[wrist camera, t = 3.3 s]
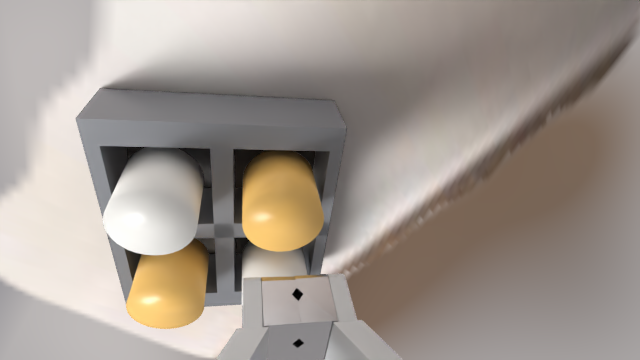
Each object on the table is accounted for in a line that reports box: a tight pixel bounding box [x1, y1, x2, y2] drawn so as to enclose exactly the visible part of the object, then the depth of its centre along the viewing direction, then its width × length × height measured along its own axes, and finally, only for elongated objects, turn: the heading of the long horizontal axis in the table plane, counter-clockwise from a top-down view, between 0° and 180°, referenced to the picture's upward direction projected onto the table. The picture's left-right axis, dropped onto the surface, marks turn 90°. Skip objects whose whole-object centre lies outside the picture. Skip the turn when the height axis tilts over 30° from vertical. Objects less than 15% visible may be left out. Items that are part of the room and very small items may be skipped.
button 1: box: [126, 238, 209, 329], centre depth 16 cm, size 3×3×3 cm
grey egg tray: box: [76, 88, 347, 307], centre depth 17 cm, size 10×9×2 cm
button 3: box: [103, 147, 204, 255], centre depth 14 cm, size 3×3×3 cm
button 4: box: [242, 150, 324, 252], centre depth 14 cm, size 3×3×3 cm
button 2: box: [242, 241, 307, 305], centre depth 17 cm, size 3×3×3 cm
